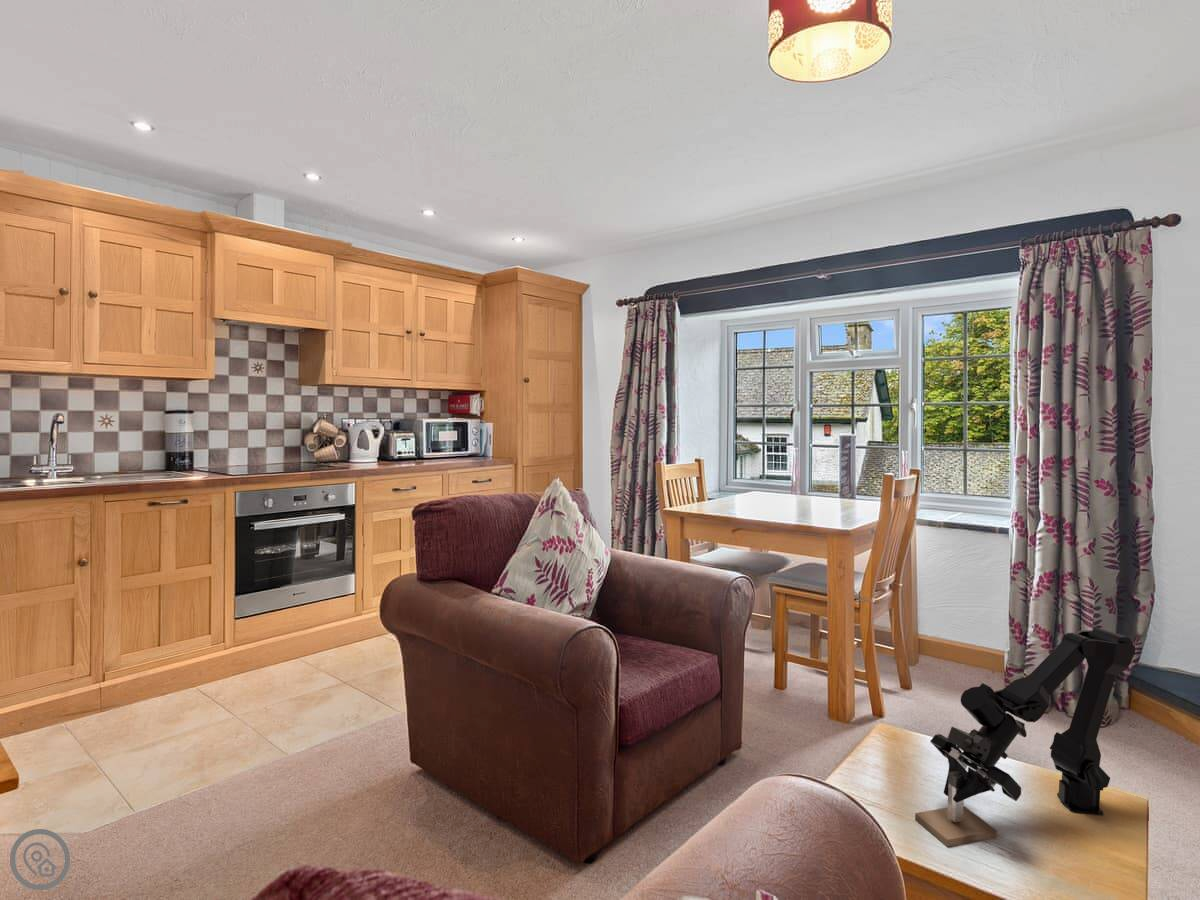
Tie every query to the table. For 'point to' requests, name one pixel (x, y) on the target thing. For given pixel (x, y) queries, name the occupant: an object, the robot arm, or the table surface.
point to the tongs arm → (957, 806)
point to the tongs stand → (955, 824)
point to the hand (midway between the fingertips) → (949, 797)
